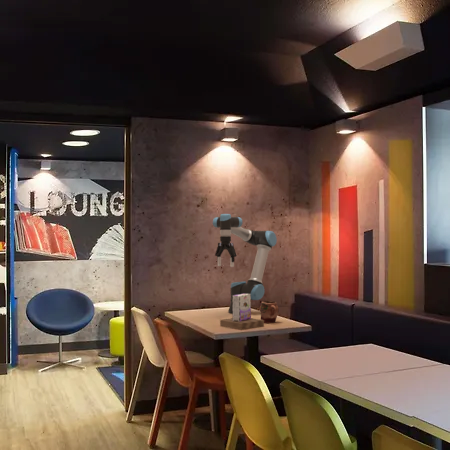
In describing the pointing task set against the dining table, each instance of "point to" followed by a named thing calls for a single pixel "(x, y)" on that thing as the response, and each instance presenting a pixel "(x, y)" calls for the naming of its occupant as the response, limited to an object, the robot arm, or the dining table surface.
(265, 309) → the decorative planter
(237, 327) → the walnut plinth
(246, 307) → the candy box
